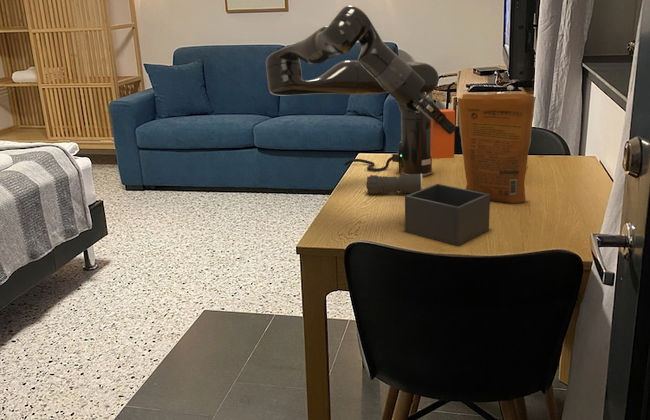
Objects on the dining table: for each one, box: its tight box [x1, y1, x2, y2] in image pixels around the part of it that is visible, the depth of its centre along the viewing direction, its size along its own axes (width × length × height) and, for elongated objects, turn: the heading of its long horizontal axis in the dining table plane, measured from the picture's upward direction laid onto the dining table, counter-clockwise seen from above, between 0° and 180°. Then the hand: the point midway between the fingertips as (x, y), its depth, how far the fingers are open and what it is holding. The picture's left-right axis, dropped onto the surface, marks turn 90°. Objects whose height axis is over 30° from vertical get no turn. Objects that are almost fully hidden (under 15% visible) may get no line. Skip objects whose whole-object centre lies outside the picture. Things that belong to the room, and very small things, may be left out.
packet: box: [430, 108, 456, 160], centre depth 154 cm, size 5×3×11 cm, turn 93°
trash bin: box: [404, 183, 491, 246], centre depth 152 cm, size 15×13×9 cm
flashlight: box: [365, 174, 423, 195], centre depth 182 cm, size 15×5×5 cm, turn 83°
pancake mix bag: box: [456, 93, 536, 204], centre depth 169 cm, size 7×19×28 cm, turn 58°
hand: (451, 129), depth 154 cm, fingers closed on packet, 3 cm apart
